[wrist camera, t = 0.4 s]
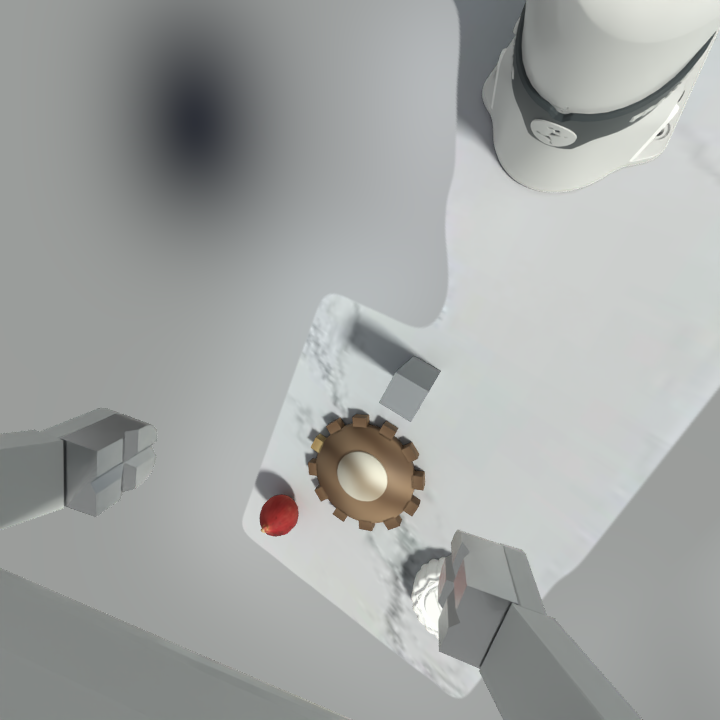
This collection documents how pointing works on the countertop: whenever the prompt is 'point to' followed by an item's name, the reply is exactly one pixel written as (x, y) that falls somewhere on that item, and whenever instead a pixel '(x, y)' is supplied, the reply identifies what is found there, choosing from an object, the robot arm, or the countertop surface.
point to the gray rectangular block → (409, 387)
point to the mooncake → (428, 595)
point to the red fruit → (278, 515)
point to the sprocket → (366, 472)
